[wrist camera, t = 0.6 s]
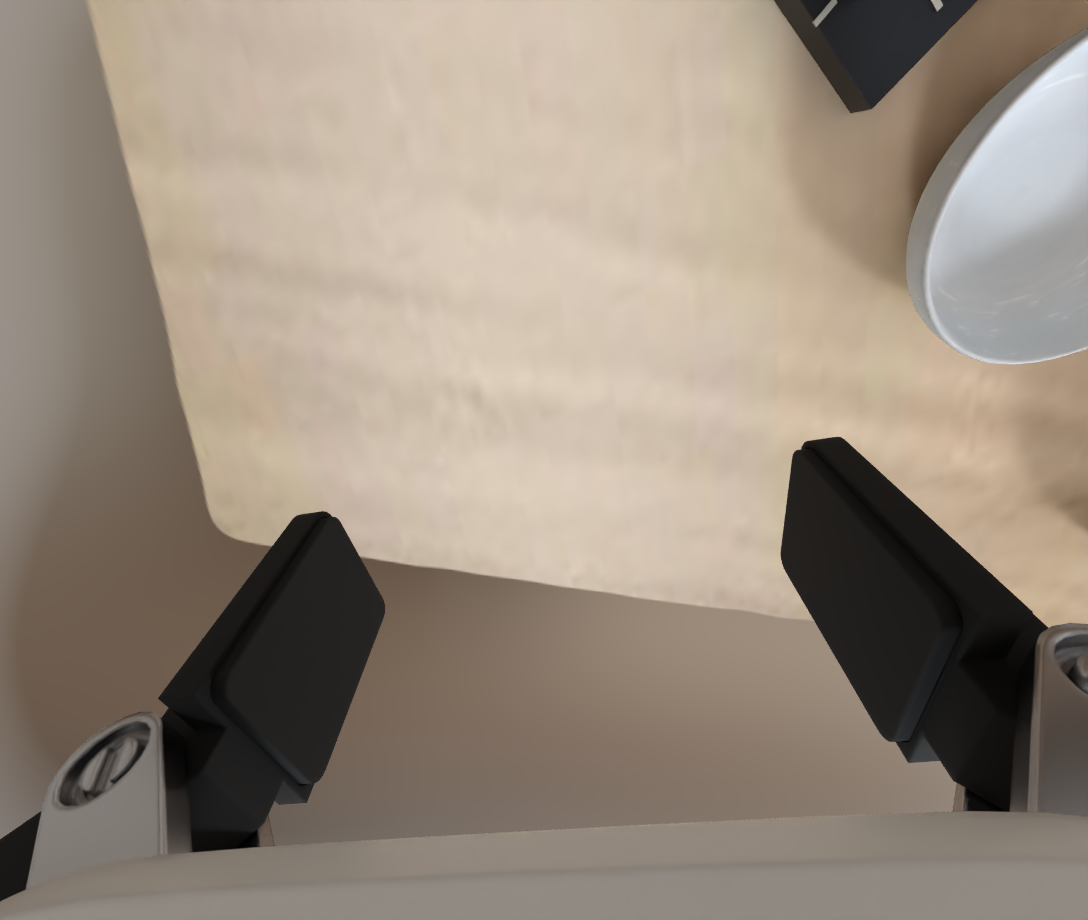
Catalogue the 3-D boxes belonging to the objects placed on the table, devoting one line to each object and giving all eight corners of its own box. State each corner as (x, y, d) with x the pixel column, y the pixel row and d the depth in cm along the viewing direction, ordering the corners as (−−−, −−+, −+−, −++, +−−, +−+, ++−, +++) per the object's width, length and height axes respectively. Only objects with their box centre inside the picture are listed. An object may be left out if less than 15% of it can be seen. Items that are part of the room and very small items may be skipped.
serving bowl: (819, 318, 39) (866, 344, 34) (979, -18, 28) (1091, -67, 22) (1038, 354, 41) (1119, 385, 35) (1274, 47, 30) (1450, 17, 24)
